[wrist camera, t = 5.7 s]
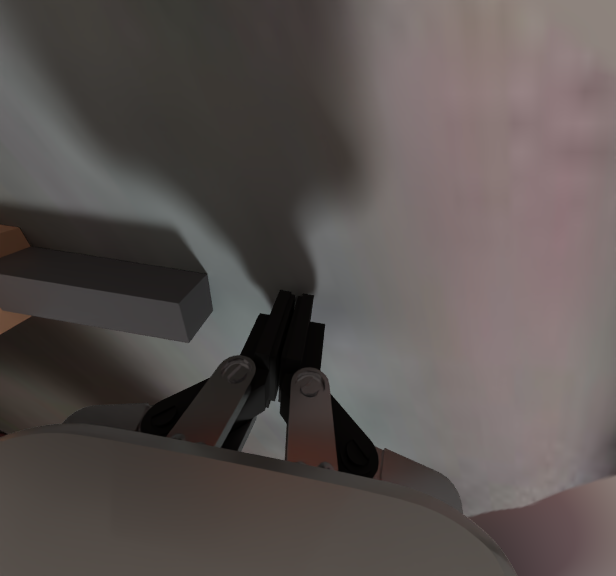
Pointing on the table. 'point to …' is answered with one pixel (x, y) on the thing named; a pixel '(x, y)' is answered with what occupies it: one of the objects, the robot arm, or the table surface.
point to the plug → (98, 291)
